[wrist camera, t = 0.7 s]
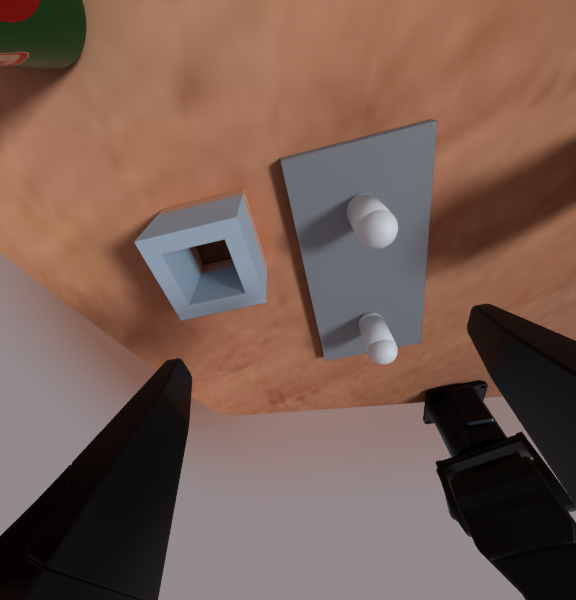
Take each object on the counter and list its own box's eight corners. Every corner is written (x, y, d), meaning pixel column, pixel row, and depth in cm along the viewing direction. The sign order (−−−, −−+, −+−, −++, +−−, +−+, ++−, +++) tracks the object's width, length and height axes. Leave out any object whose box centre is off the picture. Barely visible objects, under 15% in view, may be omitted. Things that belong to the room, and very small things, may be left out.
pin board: (417, 336, 27) (444, 382, 23) (323, 354, 28) (333, 402, 24) (430, 119, 17) (485, 130, 13) (280, 158, 18) (283, 181, 13)
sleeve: (266, 262, 22) (266, 302, 18) (196, 278, 22) (181, 320, 18) (243, 188, 19) (236, 216, 15) (162, 209, 19) (134, 241, 15)
